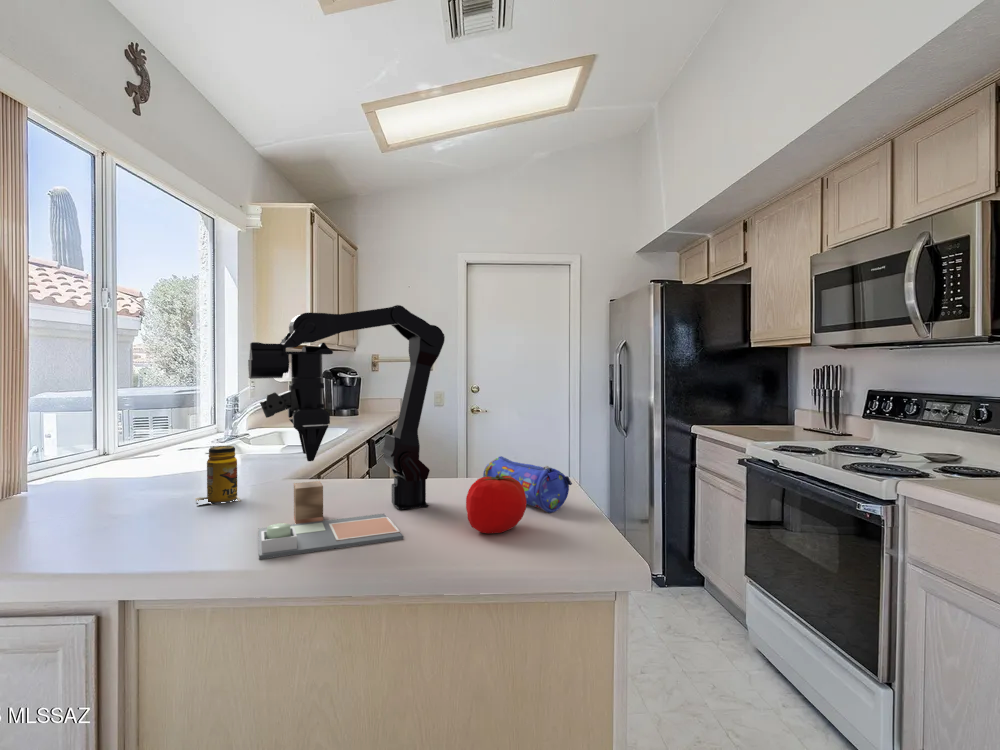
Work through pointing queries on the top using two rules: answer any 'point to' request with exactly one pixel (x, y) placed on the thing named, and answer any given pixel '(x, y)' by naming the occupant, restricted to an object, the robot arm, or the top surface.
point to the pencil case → (534, 482)
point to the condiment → (221, 475)
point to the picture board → (329, 535)
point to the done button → (278, 531)
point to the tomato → (495, 504)
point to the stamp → (308, 502)
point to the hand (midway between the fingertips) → (308, 457)
